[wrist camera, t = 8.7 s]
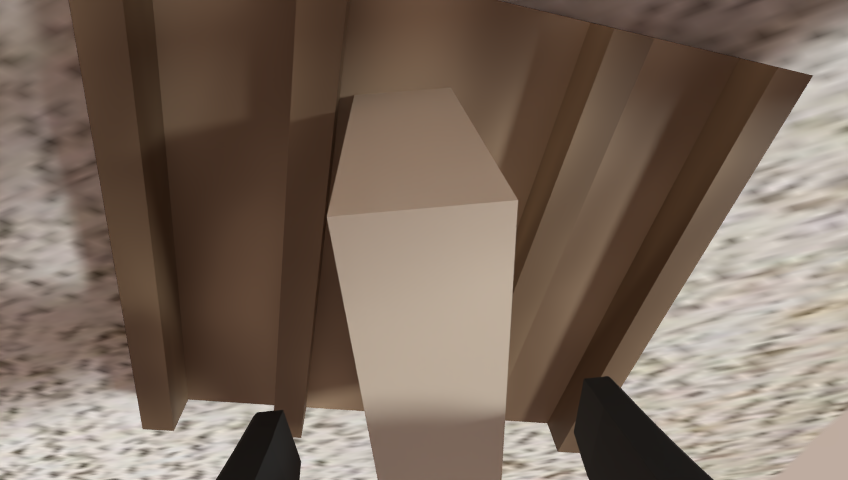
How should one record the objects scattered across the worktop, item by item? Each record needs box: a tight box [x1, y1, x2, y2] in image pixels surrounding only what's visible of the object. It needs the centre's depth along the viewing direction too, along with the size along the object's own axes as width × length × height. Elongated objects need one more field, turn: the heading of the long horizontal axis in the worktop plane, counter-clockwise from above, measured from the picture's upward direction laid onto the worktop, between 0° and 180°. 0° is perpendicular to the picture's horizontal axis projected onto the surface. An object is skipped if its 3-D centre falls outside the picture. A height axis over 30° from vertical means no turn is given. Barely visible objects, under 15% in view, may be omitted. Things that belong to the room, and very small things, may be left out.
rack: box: [69, 0, 812, 453], centre depth 17 cm, size 21×18×3 cm
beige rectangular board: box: [327, 88, 518, 480], centre depth 13 cm, size 3×12×8 cm, turn 3°
